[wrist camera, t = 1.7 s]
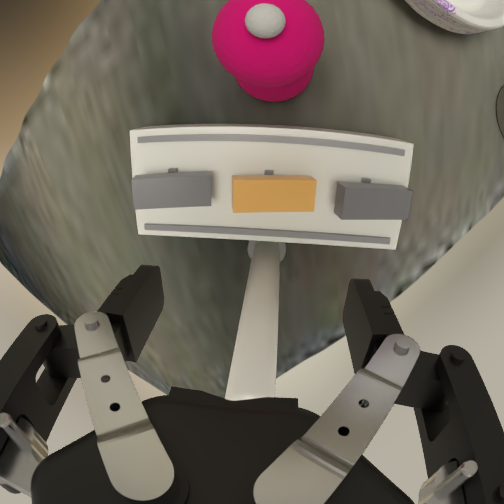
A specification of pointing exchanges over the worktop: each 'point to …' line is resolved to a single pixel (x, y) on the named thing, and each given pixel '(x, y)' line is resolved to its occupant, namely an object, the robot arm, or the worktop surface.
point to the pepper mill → (269, 45)
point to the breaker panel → (270, 163)
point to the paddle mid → (273, 193)
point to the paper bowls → (462, 14)
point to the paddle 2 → (372, 201)
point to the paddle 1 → (172, 190)
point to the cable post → (258, 326)
